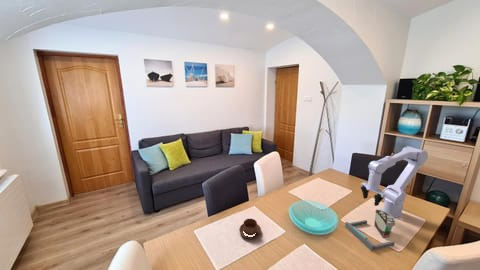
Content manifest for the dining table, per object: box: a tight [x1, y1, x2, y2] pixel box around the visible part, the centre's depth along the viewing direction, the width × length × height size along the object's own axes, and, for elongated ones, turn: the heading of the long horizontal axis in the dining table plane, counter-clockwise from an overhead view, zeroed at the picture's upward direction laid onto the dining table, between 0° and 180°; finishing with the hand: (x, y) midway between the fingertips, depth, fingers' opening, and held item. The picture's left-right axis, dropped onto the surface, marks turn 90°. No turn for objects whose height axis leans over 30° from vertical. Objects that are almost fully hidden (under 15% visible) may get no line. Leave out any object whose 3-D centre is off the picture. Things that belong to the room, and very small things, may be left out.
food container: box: [373, 209, 396, 239], centre depth 102 cm, size 12×6×10 cm, turn 168°
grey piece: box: [344, 219, 395, 252], centre depth 101 cm, size 14×17×4 cm
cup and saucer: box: [239, 218, 262, 240], centre depth 103 cm, size 12×12×6 cm
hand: (370, 201), depth 114 cm, fingers open, 7 cm apart
